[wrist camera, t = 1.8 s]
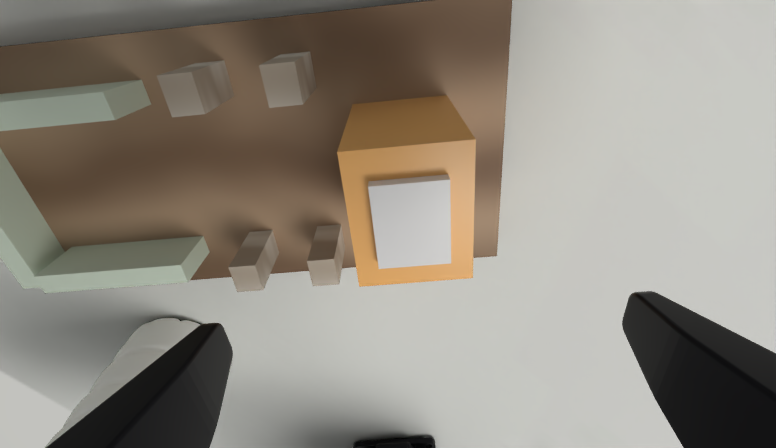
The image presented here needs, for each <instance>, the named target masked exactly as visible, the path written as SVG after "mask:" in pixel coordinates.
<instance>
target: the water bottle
mask: <svg viewBox="0 0 776 448" xmlns="http://www.w3.org/2000/svg"><path fill="white" fill-rule="evenodd" d="M198 326H200V324H198V323H195V322H192V321H188V320H183V321H179V320H178V319H176V318H163V319H157V320H154V321H152V322H150V323H145V324H143V325H142V326H140V327H139V328H138V329H137V330H136V331H135V332H134V333H133V334H132V335H131V336H130V338H129V339H128V340H127V342H126V343H125V344H124V346H123V347H122V348H121V349H120V350H119V351H118V353H117V354H116V356H115V358H114V360H113V362H112V364H110V365H109V366H108V367H107V368H106V369H105V370H104V371H103V373H102V374H101V375H100V376H99V378H98V379H97V380H96V382H95V383H94V385H93V387H92V389H91V391H90V393H89V394H88V395H87V396H86V397H85V398H83V399H82V400H81V402H80V403H79V404H78V405H77V406H76V408H75V409H74V410H73V412H72V413H71V415H70V416H69V418H68V419H67V421H66V423H65V424H64V426H63V428H62V429H61V430H60V431H59V432H58V433H57V434H56V435H55V436H54V437H53V438H52V439H51V441H50V442H49V443H48V444H47V446H48V445H50V444H51V443H52V442H53V441H55V440H56V439H57V438H58V437H60V436H61V435H62V434H63V433H65V432H66V431H67V430H68V429H70V428H71V427H72V426H74V425H75V424H76V423H77V422H79V421H80V420H81V419H82V418H84V417H85V416H86V415H87V414H89V413H90V412H91V411H92V410H94V409H95V408H96V407H97V406H99V405H100V404H101V403H102V402H104V401H105V400H106V399H108V398H109V397H110V396H111V395H113V394H114V393H115V392H116V391H118V390H119V389H120V388H121V387H123V386H124V385H125V384H126V383H128V382H129V381H130V380H131V379H133V378H134V377H135V376H136V375H138V374H139V373H140V372H141V371H143V370H144V369H145V368H147V367H148V366H149V365H150V364H152V363H153V362H154V361H155V360H157V359H158V358H159V357H160V356H162V355H163V354H164V353H165V352H167V351H168V350H169V349H170V348H172V347H173V346H174V345H175V344H177V343H178V342H179V341H180V340H182V339H183V338H184V337H186V336H187V335H188V334H189V333H191V332H192V331H193V330H194V329H196V328H197V327H198ZM231 364H232V362H231ZM230 369H231V366H230ZM229 372H230V371H229ZM47 446H46V447H47ZM46 447H45V448H46Z"/></svg>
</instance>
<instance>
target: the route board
mask: <svg viewBox="0 0 776 448" xmlns="http://www.w3.org/2000/svg"><path fill="white" fill-rule="evenodd" d="M511 11H512V0H431V1H422V2H412V3H403V4H394V5H384V6H375V7H366V8H356V9H347V10H338V11H328V12H319V13H310V14H301V15H291V16H282V17H273V18H263V19H254V20H245V21H235V22H226V23H217V24H207V25H198V26H189V27H180V28H170V29H161V30H152V31H142V32H133V33H124V34H114V35H105V36H96V37H86V38H77V39H68V40H58V41H49V42H40V43H31V44H21V45H12V46H3V47H0V94H5V93H15V92H25V91H35V90H44V89H54V88H64V87H74V86H84V85H93V84H103V83H113V82H123V81H133V80H142V82H143V84H144V87H145V89H146V92H147V95H148V97H149V100H150V102H151V105H149V106H146V107H144V108H142V109H139V110H137V111H135V112H133V113H130V114H128V115H126V116H123V117H121V118H119V119H116V120H110V121H100V122H90V123H80V124H69V125H59V126H49V127H39V128H28V129H18V130H8V131H0V148H1V150H2V152H3V153H4V155H5V157H6V158H7V160H8V161H9V163H10V165H11V166H12V168H13V169H14V171H15V173H16V174H17V176H18V177H19V179H20V181H21V182H22V184H23V185H24V187H25V189H26V190H27V192H28V193H29V195H30V197H31V198H32V200H33V201H34V203H35V205H36V206H37V208H38V209H39V211H40V213H41V214H42V216H43V217H44V219H45V221H46V222H47V224H48V225H49V227H50V229H51V230H52V232H53V233H54V235H55V237H56V238H57V240H58V241H59V243H60V245H61V246H62V248H63V249H64V251H65V252H66V251H67V250H68V249H70V248H71V247H76V246H88V245H100V244H112V243H124V242H136V241H148V240H160V239H172V238H184V237H196V236H204V239H205V241H206V244H207V246H208V249H209V254H208V255H207V257H206V258H205V259H204V261H203V262H202V264H201V265H200V266H199V268H198V269H197V271H196V272H195V274H194V275H193V276H192V278H191V279H190V280H197V279H210V278H223V277H232V279H233V281H234V284H235V287H236V289H237V292H244V291H257V290H263V289H264V287H265V285H266V282H267V280H268V278H269V275H270V274H274V273H286V272H299V271H309V272H310V276H311V280H312V284H313V286H323V285H336V284H339V282H340V276H341V270H342V268H350V267H356V263H355V257H354V251H353V245H352V239H351V233H350V227H349V221H348V215H347V209H346V203H345V197H344V191H343V185H342V179H341V173H340V167H339V161H338V155H337V151H338V148H339V145H340V141H341V138H342V135H343V132H344V129H345V126H346V123H347V120H348V117H349V114H350V111H351V108H352V105H353V104H361V103H371V102H382V101H392V100H402V99H413V98H423V97H433V96H444V95H447V96H448V98H449V99H450V101H451V102H452V104H453V105H454V107H455V108H456V110H457V111H458V113H459V114H460V116H461V117H462V119H463V120H464V122H465V124H466V125H467V127H468V128H469V130H470V131H471V133H472V134H473V136H474V137H475V139H476V156H475V200H474V245H473V258H477V257H490V256H497V244H498V227H499V211H500V194H501V177H502V161H503V144H504V127H505V111H506V94H507V77H508V61H509V44H510V27H511Z"/></svg>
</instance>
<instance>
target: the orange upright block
mask: <svg viewBox="0 0 776 448" xmlns="http://www.w3.org/2000/svg"><path fill="white" fill-rule="evenodd" d="M337 155H338V161H339V167H340V173H341V179H342V185H343V191H344V197H345V203H346V209H347V215H348V221H349V227H350V233H351V239H352V245H353V251H354V257H355V263H356V269H357V275H358V281H359V287H361V286H374V285H387V284H400V283H413V282H426V281H439V280H453V279H466V278H473V245H474V200H475V156H476V139H475V137H474V136H473V134H472V133H471V131H470V130H469V128H468V127H467V125H466V124H465V122H464V120H463V119H462V117H461V116H460V114H459V113H458V111H457V110H456V108H455V107H454V105H453V104H452V102H451V101H450V99H449V98H448V96H447V95H444V96H433V97H423V98H413V99H402V100H392V101H382V102H371V103H361V104H353V105H352V108H351V111H350V114H349V117H348V120H347V123H346V126H345V129H344V132H343V135H342V138H341V141H340V145H339V148H338V151H337Z"/></svg>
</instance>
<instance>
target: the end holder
mask: <svg viewBox="0 0 776 448" xmlns="http://www.w3.org/2000/svg"><path fill="white" fill-rule="evenodd" d="M149 105H151V102H150V100H149V97H148V95H147V92H146V89H145V87H144V84H143V82H142V80H133V81H123V82H113V83H103V84H93V85H84V86H74V87H64V88H54V89H44V90H35V91H25V92H15V93H5V94H0V131H8V130H18V129H28V128H39V127H49V126H59V125H69V124H80V123H90V122H100V121H110V120H116V119H119V118H121V117H123V116H126V115H128V114H130V113H133V112H135V111H137V110H139V109H142V108H144V107H146V106H149ZM208 254H209V249H208V246H207V244H206V241H205V239H204V236H196V237H184V238H172V239H160V240H148V241H136V242H124V243H112V244H100V245H88V246H76V247H71V248H70V249H68V250H67V251H66V252H65V251H64V249H63V248H62V246H61V245H60V243H59V241H58V240H57V238H56V237H55V235H54V233H53V232H52V230H51V229H50V227H49V225H48V224H47V222H46V221H45V219H44V217H43V216H42V214H41V213H40V211H39V209H38V208H37V206H36V205H35V203H34V201H33V200H32V198H31V197H30V195H29V193H28V192H27V190H26V189H25V187H24V185H23V184H22V182H21V181H20V179H19V177H18V176H17V174H16V173H15V171H14V169H13V168H12V166H11V165H10V163H9V161H8V160H7V158H6V157H5V155H4V153H3V152H2V150H1V148H0V258H1V259H2V261H3V262H4V263H5V265H6V266H7V268H8V269H9V270H10V272H11V273H12V274H13V276H14V277H15V278H16V280H17V281H18V283H19V284H20V285H21V287H22V288H23V289H30V288H41V289H42V290H43V292H44V293H58V292H70V291H83V290H96V289H109V288H121V287H134V286H147V285H160V284H172V283H185V282H189V281H190V279H191V278H192V276H193V275H194V274H195V272H196V271H197V269H198V268H199V266H200V265H201V264H202V262H203V261H204V259H205V258H206V257H207V255H208Z"/></svg>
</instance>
